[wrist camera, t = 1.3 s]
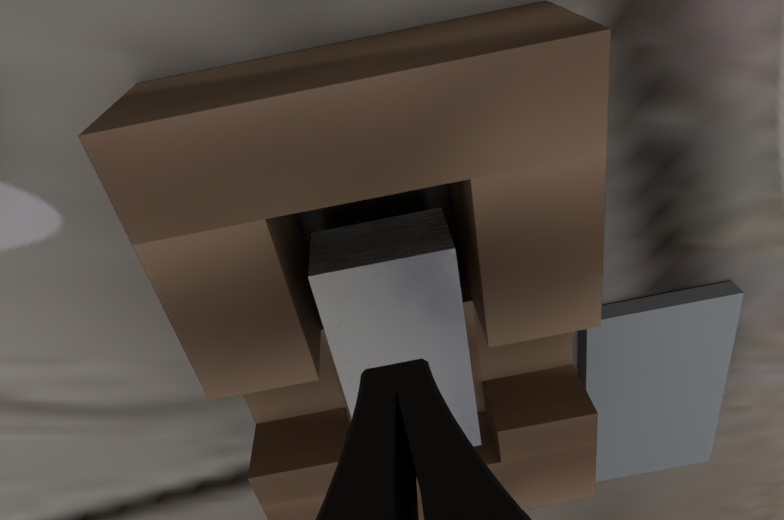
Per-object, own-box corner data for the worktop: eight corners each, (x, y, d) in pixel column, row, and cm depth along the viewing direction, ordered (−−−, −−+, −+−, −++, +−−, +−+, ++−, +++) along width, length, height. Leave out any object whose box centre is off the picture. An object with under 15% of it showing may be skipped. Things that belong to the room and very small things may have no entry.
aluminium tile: (467, 393, 21) (481, 445, 19) (363, 413, 21) (366, 466, 19) (441, 207, 17) (455, 247, 15) (311, 232, 17) (307, 276, 15)
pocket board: (556, 408, 25) (595, 496, 21) (292, 458, 25) (284, 553, 22) (547, 0, 16) (610, 28, 12) (136, 83, 16) (78, 135, 13)
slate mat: (700, 447, 27) (710, 461, 27) (578, 470, 28) (584, 484, 27) (731, 280, 22) (744, 292, 21) (579, 309, 22) (587, 322, 22)
